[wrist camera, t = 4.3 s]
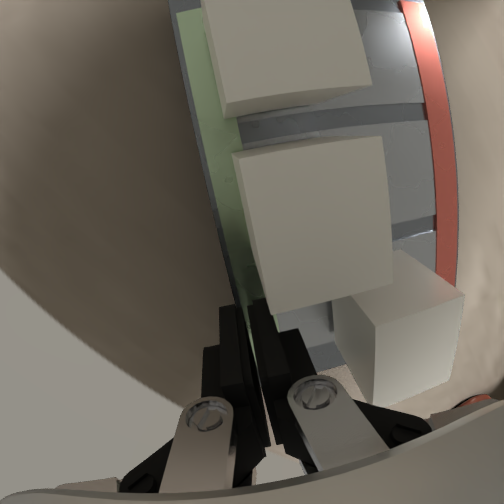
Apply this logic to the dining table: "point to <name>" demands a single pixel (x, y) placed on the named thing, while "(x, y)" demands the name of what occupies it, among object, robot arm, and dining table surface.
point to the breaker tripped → (400, 332)
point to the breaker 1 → (283, 52)
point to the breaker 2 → (317, 218)
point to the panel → (338, 124)
